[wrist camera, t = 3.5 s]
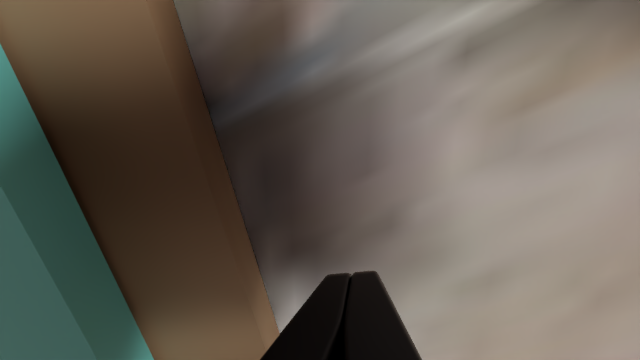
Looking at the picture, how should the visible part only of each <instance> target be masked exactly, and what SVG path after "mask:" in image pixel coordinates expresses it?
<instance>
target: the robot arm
mask: <svg viewBox="0 0 640 360" xmlns="http://www.w3.org/2000/svg"><path fill="white" fill-rule="evenodd" d="M260 360H422V359H421V357H420V355H419V353H418V351H417V349H416V347H415V345H414V343H413V341H412V339H411V337H410V335H409V334H408V332H407V330H406V328H405V326H404V324H403V322H402V320H401V318H400V316H399V314H398V312H397V310H396V308H395V306H394V304H393V302H392V300H391V298H390V296H389V294H388V292H387V290H386V288H385V286H384V284H383V282H382V280H381V278H380V277H379V275H378V273H377V272H376V271H364V272H355V273H354V274H353V275H351V274H349V273H340V274H330V275H327V276H326V277H325V278H324V279H323V280H322V282H321V283H320V284H319V285H318V287H317V288H316V289H315V291H314V292H313V293H312V294H311V296H310V297H309V298H308V299H307V301H306V302H305V303H304V304H303V306H302V307H301V308H300V309H299V311H298V312H297V313H296V314H295V316H294V317H293V318H292V320H291V321H290V322H289V323H288V325H287V326H286V327H285V328H284V330H283V331H282V332H281V333H280V335H279V336H278V337H277V338H276V340H275V341H274V342H273V344H272V345H271V346H270V347H269V349H268V350H267V351H266V352H265V354H264V355H263V356H262V357H261V359H260Z"/></svg>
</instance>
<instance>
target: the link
mask: <svg viewBox="0 0 640 360" xmlns="http://www.w3.org/2000/svg"><path fill="white" fill-rule="evenodd" d="M0 360H154V358H153V356H152V354H151V352H150V350H149V348H148V346H147V344H146V342H145V340H144V338H143V336H142V334H141V332H140V330H139V328H138V326H137V324H136V321H135V319H134V317H133V315H132V313H131V311H130V309H129V307H128V305H127V303H126V301H125V299H124V297H123V295H122V293H121V291H120V289H119V287H118V284H117V282H116V280H115V278H114V276H113V274H112V272H111V270H110V268H109V266H108V264H107V262H106V260H105V258H104V256H103V254H102V252H101V250H100V247H99V245H98V243H97V241H96V239H95V237H94V235H93V233H92V231H91V229H90V227H89V225H88V223H87V221H86V219H85V217H84V215H83V213H82V210H81V208H80V206H79V204H78V202H77V200H76V198H75V196H74V194H73V192H72V190H71V188H70V186H69V184H68V182H67V180H66V178H65V176H64V173H63V171H62V169H61V167H60V165H59V163H58V161H57V159H56V157H55V155H54V153H53V151H52V149H51V147H50V145H49V143H48V141H47V139H46V137H45V134H44V132H43V130H42V128H41V126H40V124H39V122H38V120H37V118H36V116H35V114H34V112H33V110H32V108H31V106H30V104H29V102H28V100H27V97H26V95H25V93H24V91H23V89H22V87H21V85H20V83H19V81H18V79H17V77H16V75H15V73H14V71H13V69H12V67H11V65H10V63H9V60H8V58H7V56H6V54H5V52H4V50H3V48H2V46H1V44H0Z"/></svg>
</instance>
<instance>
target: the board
mask: <svg viewBox="0 0 640 360" xmlns="http://www.w3.org/2000/svg"><path fill="white" fill-rule="evenodd" d="M0 44H1V46H2V48H3V50H4V52H5V54H6V56H7V58H8V60H9V63H10V65H11V67H12V69H13V71H14V73H15V75H16V77H17V79H18V81H19V83H20V85H21V87H22V89H23V91H24V93H25V95H26V97H27V100H28V102H29V104H30V106H31V108H32V110H33V112H34V114H35V116H36V118H37V120H38V122H39V124H40V126H41V128H42V130H43V132H44V134H45V137H46V139H47V141H48V143H49V145H50V147H51V149H52V151H53V153H54V155H55V157H56V159H57V161H58V163H59V165H60V167H61V169H62V171H63V173H64V176H65V178H66V180H67V182H68V184H69V186H70V188H71V190H72V192H73V194H74V196H75V198H76V200H77V202H78V204H79V206H80V208H81V210H82V213H83V215H84V217H85V219H86V221H87V223H88V225H89V227H90V229H91V231H92V233H93V235H94V237H95V239H96V241H97V243H98V245H99V247H100V250H101V252H102V254H103V256H104V258H105V260H106V262H107V264H108V266H109V268H110V270H111V272H112V274H113V276H114V278H115V280H116V282H117V284H118V287H119V289H120V291H121V293H122V295H123V297H124V299H125V301H126V303H127V305H128V307H129V309H130V311H131V313H132V315H133V317H134V319H135V321H136V324H137V326H138V328H139V330H140V332H141V334H142V336H143V338H144V340H145V342H146V344H147V346H148V348H149V350H150V352H151V354H152V356H153V358H154V360H260V359H261V357H262V356H263V355H264V354H265V352H266V351H267V350H268V349H269V347H270V346H271V345H272V344H273V342H274V341H275V340H276V338H277V337H278V336H279V335H280V334H279V330H278V327H277V324H276V321H275V318H274V315H273V312H272V309H271V305H270V302H269V299H268V296H267V293H266V290H265V287H264V283H263V280H262V277H261V274H260V271H259V268H258V265H257V262H256V258H255V255H254V252H253V249H252V246H251V243H250V240H249V237H248V233H247V230H246V227H245V224H244V221H243V218H242V215H241V212H240V208H239V205H238V202H237V199H236V196H235V193H234V190H233V187H232V183H231V180H230V177H229V174H228V171H227V168H226V165H225V162H224V158H223V155H222V152H221V149H220V146H219V143H218V140H217V137H216V133H215V130H214V127H213V124H212V121H211V118H210V115H209V111H208V108H207V105H206V102H205V99H204V96H203V93H202V90H201V86H200V83H199V80H198V77H197V74H196V71H195V68H194V65H193V61H192V58H191V55H190V52H189V49H188V46H187V43H186V40H185V36H184V33H183V30H182V27H181V24H180V21H179V18H178V15H177V11H176V8H175V5H174V2H173V0H0Z"/></svg>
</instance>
